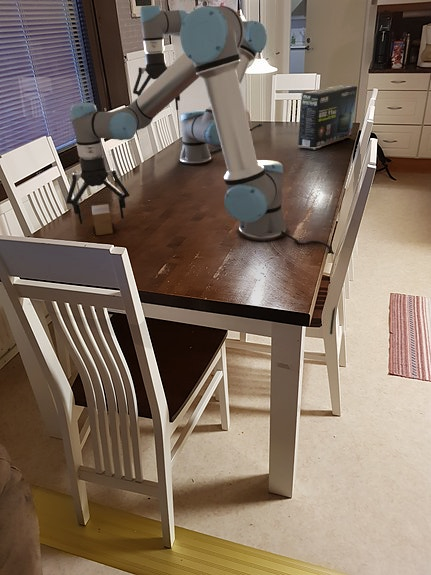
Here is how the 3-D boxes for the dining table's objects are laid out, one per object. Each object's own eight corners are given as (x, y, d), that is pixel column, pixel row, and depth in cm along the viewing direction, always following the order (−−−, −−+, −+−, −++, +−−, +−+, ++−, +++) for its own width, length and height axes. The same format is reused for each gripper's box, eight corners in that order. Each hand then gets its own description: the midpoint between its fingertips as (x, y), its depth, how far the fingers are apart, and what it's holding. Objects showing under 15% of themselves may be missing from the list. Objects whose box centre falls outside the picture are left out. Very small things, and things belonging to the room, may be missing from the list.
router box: (314, 151, 231) (318, 94, 217) (296, 148, 237) (299, 92, 224) (352, 138, 251) (358, 85, 238) (335, 135, 258) (340, 83, 245)
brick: (95, 226, 159) (91, 206, 155) (111, 223, 160) (108, 204, 156) (96, 235, 152) (92, 214, 148) (113, 233, 153) (109, 212, 150)
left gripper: (121, 55, 172) (129, 114, 183) (187, 51, 174) (191, 109, 186) (122, 53, 178) (129, 111, 189) (185, 49, 181) (189, 106, 192)
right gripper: (49, 163, 138) (63, 228, 149) (132, 155, 143) (140, 218, 154) (50, 157, 144) (63, 220, 155) (130, 149, 149) (137, 210, 160)
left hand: (160, 110), depth 187 cm, fingers open, 13 cm apart
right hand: (102, 219), depth 154 cm, fingers open, 13 cm apart
